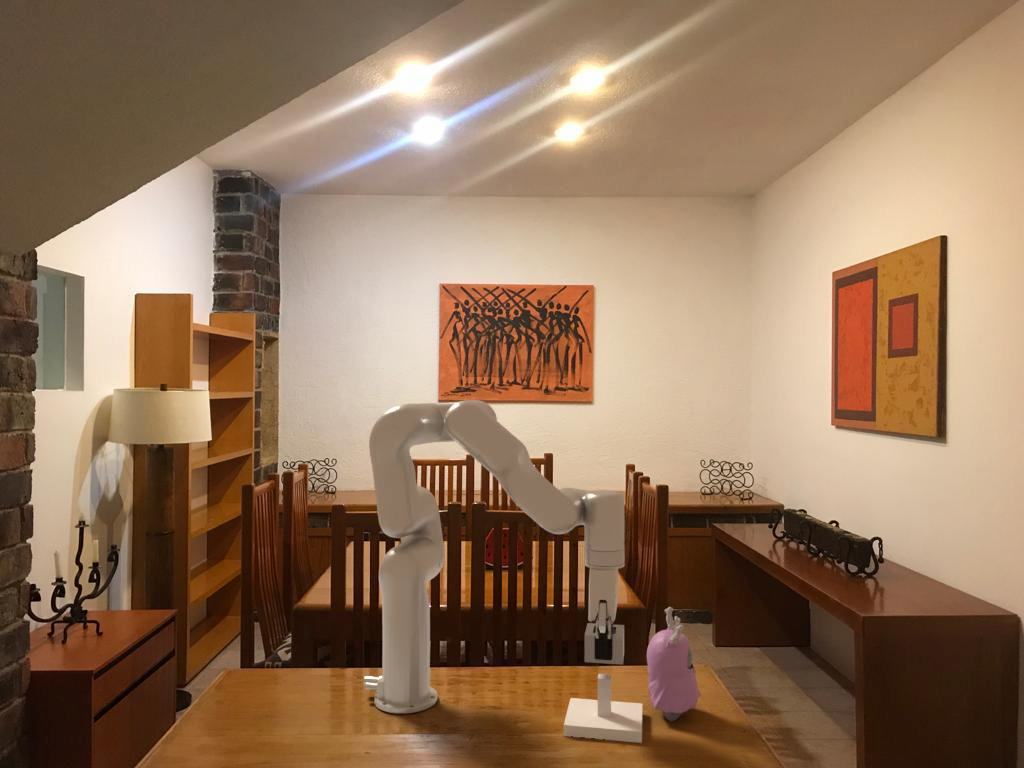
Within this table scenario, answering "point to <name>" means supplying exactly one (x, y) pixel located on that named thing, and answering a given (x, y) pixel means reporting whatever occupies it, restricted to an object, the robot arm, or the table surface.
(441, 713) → the table surface
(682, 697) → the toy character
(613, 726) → the post plinth
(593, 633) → the collar
